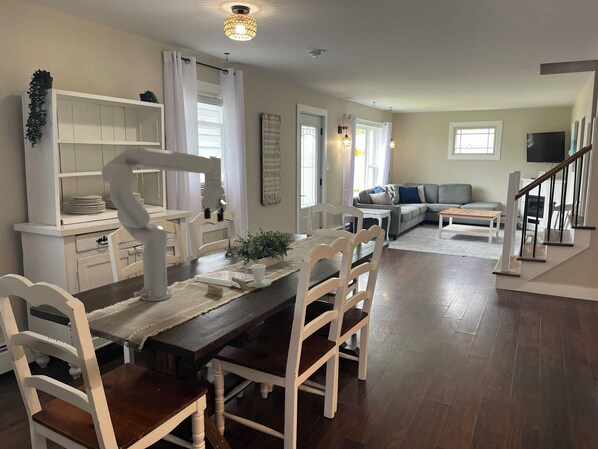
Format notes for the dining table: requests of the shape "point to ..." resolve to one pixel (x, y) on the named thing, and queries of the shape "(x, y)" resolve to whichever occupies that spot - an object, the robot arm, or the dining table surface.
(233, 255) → the eiffel tower figurine
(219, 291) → the maple blocks
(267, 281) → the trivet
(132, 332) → the dining table surface
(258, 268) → the cup
